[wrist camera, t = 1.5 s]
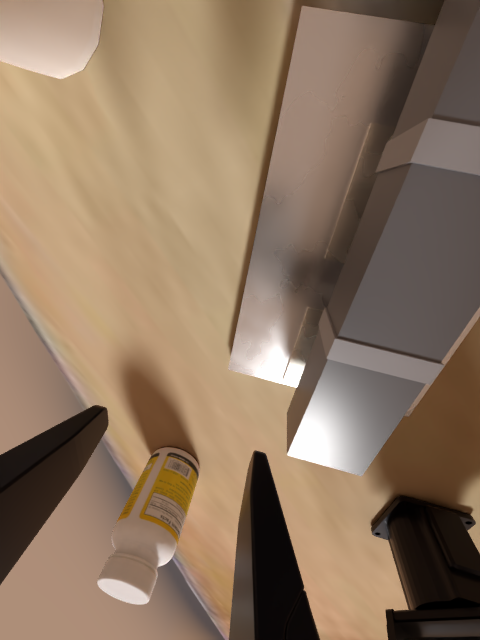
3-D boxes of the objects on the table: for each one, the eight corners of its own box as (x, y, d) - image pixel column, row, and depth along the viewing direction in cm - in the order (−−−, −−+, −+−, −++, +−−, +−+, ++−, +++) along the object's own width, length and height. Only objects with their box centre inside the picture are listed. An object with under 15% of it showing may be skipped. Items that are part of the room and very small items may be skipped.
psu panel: (401, 404, 18) (410, 420, 17) (231, 360, 19) (227, 371, 18) (622, 73, 10) (674, 54, 9) (300, 24, 11) (302, -1, 10)
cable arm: (341, 393, 19) (365, 482, 13) (286, 379, 19) (285, 459, 13) (587, -101, 8) (1305, -822, 2) (457, -115, 9) (820, -787, 3)
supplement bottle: (162, 477, 28) (105, 602, 19) (145, 444, 26) (73, 567, 17) (206, 480, 27) (167, 615, 18) (193, 445, 25) (141, 579, 16)
